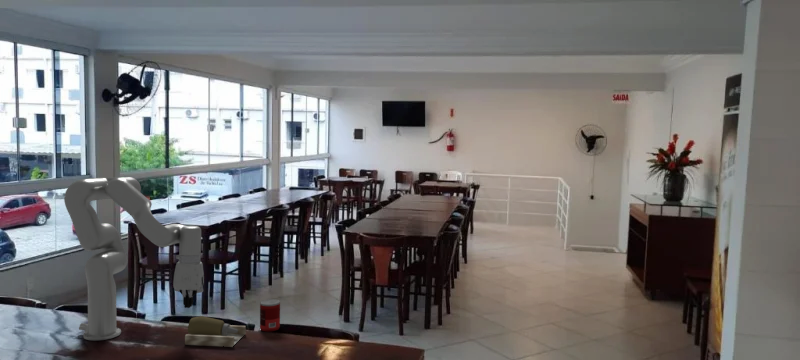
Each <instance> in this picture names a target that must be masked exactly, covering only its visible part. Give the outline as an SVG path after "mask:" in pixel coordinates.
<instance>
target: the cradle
mask: <svg viewBox="0 0 800 360" xmlns="http://www.w3.org/2000/svg"><path fill="white" fill-rule="evenodd" d="M230 327H231V328H234V329H237V330H238V333H231V334H228V336H214V335H191V334H189V333H188V334H185V335H184V345H185V346H206V347H223V346H224V347H225V348H226V347H229V348H234V347H235V346H236V345H237V344H238V343H239V342H240V341H241V340H242V339H243V338H244V337H245V336H246V335H245V334H247V327H246V325H237V324H236V325H233V324H232V325H231V324H230ZM244 335H245V336H244ZM243 336H244V337H243ZM242 337H243V338H242ZM241 338H242V339H241ZM240 339H241V340H240ZM239 340H240V341H239ZM238 341H239V342H238ZM237 342H238V343H237ZM236 343H237V344H236ZM235 344H236V345H235ZM234 345H235V346H234ZM233 346H234V347H233Z"/></svg>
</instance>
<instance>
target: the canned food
mask: <svg viewBox="0 0 800 360" xmlns="http://www.w3.org/2000/svg"><path fill="white" fill-rule="evenodd" d="M280 327H281V301H280V300H279V299H270V298H268V299H264V300H261V301H260V303H259V329H260V331H262V332H267V333H268V332H269V333H270V332H275V331H278V330H279V329H280Z"/></svg>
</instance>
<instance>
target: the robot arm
mask: <svg viewBox="0 0 800 360" xmlns="http://www.w3.org/2000/svg"><path fill="white" fill-rule="evenodd" d="M141 191H142V187H141V184H140V182H139V181H138V180H137V179H136V178H134V177H131V176H124V177H93V178H82V179H79V180H76V181H73V182H72V183H71V184H70V185H69V186H68V187H67V188H66V191H65V193H64V197H63V198H64V199H63V202H64V206H65V208H66V210H67V213H68V215H69V218H70V219H71V222H72V226H73V228H74V231H75V234H76V236H77V239H78V241H79V245H80V246H81V248H82V249H83V250H85V252H93V251H99V252H98V253H95V254H93V255H91V256H90V257H89V258H88V259H87V260H86V262H85V264H84V274H85V278H86V283H87V323H80V324H79V327H78V330H80V331H85V332H83V335H82V336H83V339H84V340H87V341H93V342H94V341H104V340H105V341H106V340H110V339H113V338H117V337H118V336H120V335H121V333H122V330H121V328H119V327H117V284H116V280H115V278H114V275H116V274H118V273H120V272H123V270H125V269H126V267H127V266H128V262H129V261H128V258H129V257H128V255H127V251H126V249H125V246H124V243H123V240H122V238H121V235H120V232H119V231H118V229H117V228H116V227H115V226H114V225H112V224H110V223H108V222H106V223H104V222H101V221H100V219H99V217H98V214H97V212H96V210H95V209H94V207H93V206H92V205H91V202H92V201H93V202H94V201H95V202H96V201H99V200H102V201H103V200H111V201H114V203H116V204H117V205H118V206H119V207H120V208H121V209H122V210H124V211H125V212H126V213H127V214H128V215H130V217H131V218H132V219H133V220H134V221H133V222H134V224H135V225H136V227H137V229H138V231H139V232H140V233H141V234H142V235H143V236H144V237H145V238H146V239H148V240H149V241H150V242H151V243H152V244H154V245H155V246H157V247H159V248H165V247H166V248H167V247H169V246H172V245H176V244H179V249H178V250H179V252H178V253H179V254H175V259H177V260H178V262H176V265H175V269H174V274H173V281H172V282H173V283H172V284H173V288H174V291H176V292H179V293H180V294H181V296H182V297H183V305H184V306H183V307H184V308H185V309H186V308H187V309H190V308H191V307H193V305H194V296H195V295H197V294H199V293H203V292H204V286H205V285H204V284H205V280H204V279H205V276H204V275H205V274H204V265H203V262H202V261H201V256H202V255H201V251H202V228H201V227H200V226H197V225H183V224H179V223H170V224H166V225H164V224H162V223H161V222H160V221H158V219H157V218H156V217H155V216H154V215H153V213H152V211H151V209H152V201H151V200H150V199H149V198H148V197H146V196H145V195H144V194H143V193H142V192H141Z"/></svg>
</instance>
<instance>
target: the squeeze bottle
mask: <svg viewBox="0 0 800 360" xmlns="http://www.w3.org/2000/svg"><path fill="white" fill-rule="evenodd" d="M230 325H231V324H230V323H225V322H224V320H221V319H216V318H212V317H208V316H204V315H200V316H196V317H195V316H194V317H191V319H189V322H188V326H187V333H188V334H191V335H214V336H228V334H231V333H238V330H237V329H234V328H231V327H230Z"/></svg>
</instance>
